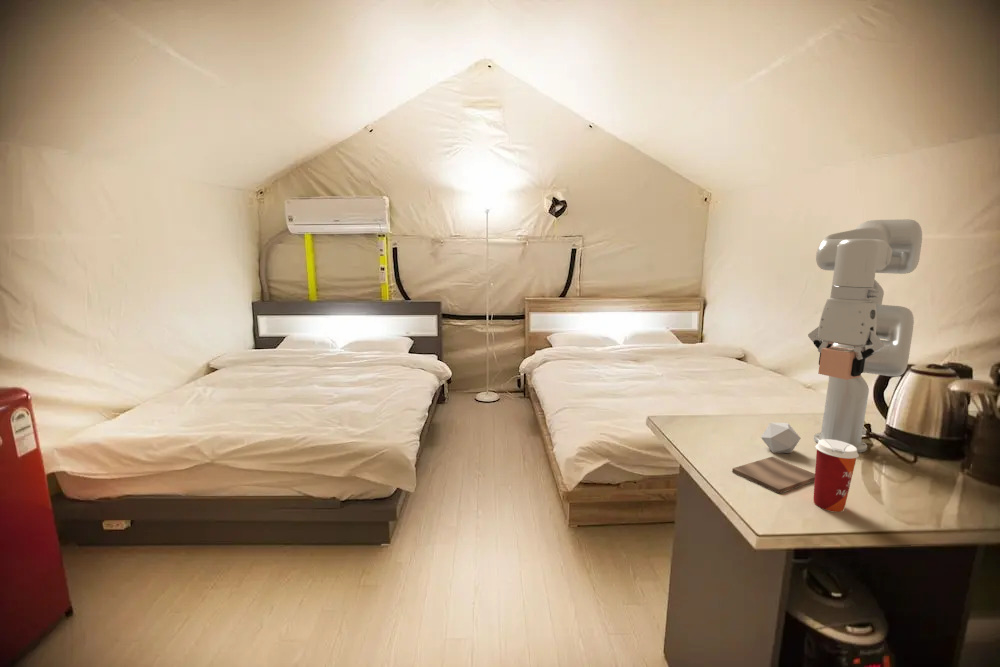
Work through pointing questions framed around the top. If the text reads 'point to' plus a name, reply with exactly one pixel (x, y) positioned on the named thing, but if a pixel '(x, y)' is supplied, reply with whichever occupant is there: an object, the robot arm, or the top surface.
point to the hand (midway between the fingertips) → (839, 371)
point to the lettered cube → (837, 362)
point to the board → (775, 474)
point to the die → (780, 437)
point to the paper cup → (833, 473)
